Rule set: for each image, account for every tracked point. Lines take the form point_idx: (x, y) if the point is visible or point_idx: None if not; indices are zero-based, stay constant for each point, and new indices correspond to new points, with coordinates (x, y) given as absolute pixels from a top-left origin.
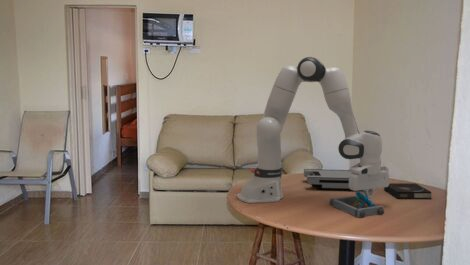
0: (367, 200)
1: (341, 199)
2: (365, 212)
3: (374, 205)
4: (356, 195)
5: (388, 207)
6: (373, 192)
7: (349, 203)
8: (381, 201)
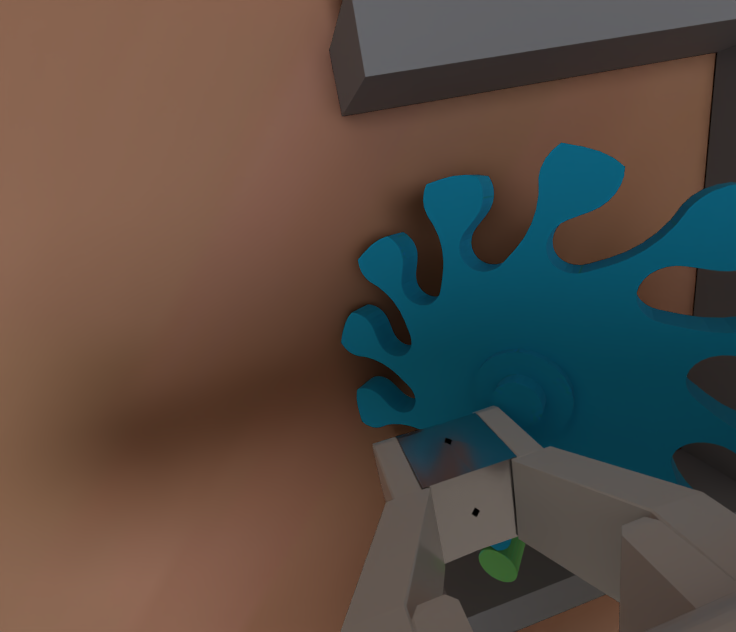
0: (593, 263)
1: None
2: None
3: (440, 180)
4: None
5: (58, 346)
6: (391, 554)
7: None
8: (50, 616)
